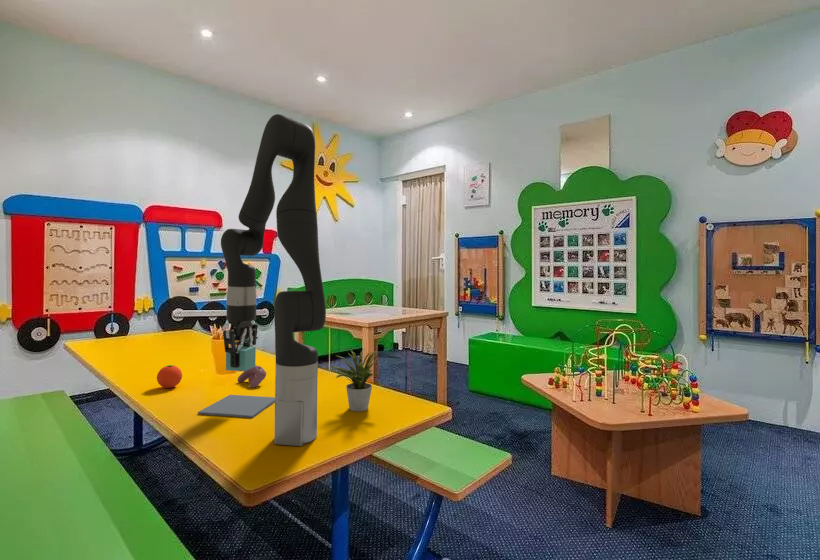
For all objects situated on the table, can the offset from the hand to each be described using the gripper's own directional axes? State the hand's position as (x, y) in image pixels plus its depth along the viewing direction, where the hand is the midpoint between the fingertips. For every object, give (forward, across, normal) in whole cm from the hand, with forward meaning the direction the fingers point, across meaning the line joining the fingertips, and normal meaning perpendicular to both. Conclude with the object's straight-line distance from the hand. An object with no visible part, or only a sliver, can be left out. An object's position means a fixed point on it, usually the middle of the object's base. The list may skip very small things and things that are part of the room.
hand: (241, 364), depth 114 cm
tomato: (+12, +13, +31) cm, 36 cm away
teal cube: (+1, 0, 0) cm, 1 cm away
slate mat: (+12, 0, 0) cm, 12 cm away
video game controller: (+12, +21, +8) cm, 26 cm away
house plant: (+12, +6, -32) cm, 35 cm away
